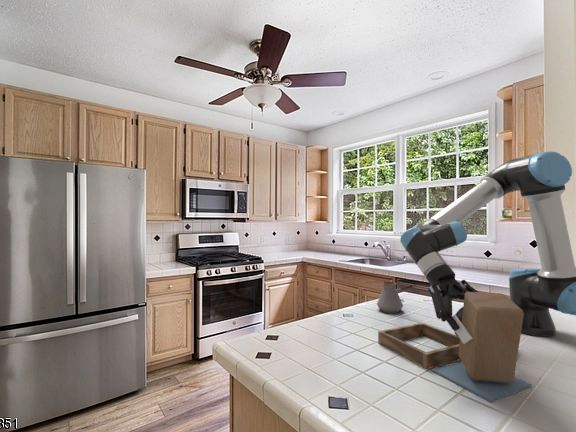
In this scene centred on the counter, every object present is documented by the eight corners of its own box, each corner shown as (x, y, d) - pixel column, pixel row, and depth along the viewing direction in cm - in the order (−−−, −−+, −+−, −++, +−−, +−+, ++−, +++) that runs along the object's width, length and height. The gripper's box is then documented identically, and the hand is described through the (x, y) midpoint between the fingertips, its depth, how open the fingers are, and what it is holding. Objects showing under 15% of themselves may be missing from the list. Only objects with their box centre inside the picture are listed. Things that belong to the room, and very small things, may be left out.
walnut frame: (422, 333, 114) (422, 322, 114) (475, 355, 95) (474, 342, 95) (378, 343, 106) (378, 331, 106) (426, 368, 87) (426, 354, 87)
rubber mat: (471, 360, 92) (471, 358, 92) (531, 386, 77) (531, 384, 77) (432, 371, 85) (432, 369, 85) (490, 402, 71) (490, 399, 71)
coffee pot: (371, 309, 146) (371, 277, 146) (390, 306, 151) (390, 275, 151) (406, 322, 127) (405, 285, 127) (426, 318, 131) (425, 283, 132)
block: (515, 385, 76) (526, 311, 71) (470, 381, 77) (479, 308, 73) (495, 358, 85) (504, 292, 81) (456, 355, 87) (463, 290, 83)
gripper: (457, 274, 101) (506, 335, 87) (398, 281, 91) (443, 352, 77) (472, 260, 96) (526, 322, 82) (412, 266, 86) (462, 338, 72)
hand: (486, 337), depth 80 cm, fingers closed on block, 13 cm apart
